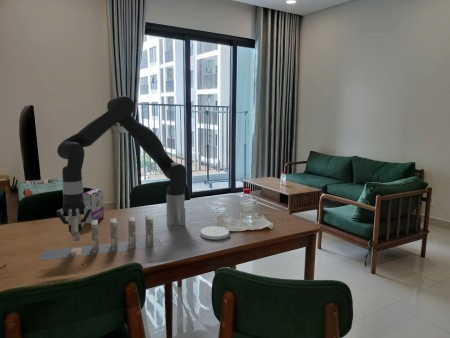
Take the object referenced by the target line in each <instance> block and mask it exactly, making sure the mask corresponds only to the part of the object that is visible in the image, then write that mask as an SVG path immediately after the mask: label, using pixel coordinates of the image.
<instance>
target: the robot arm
mask: <svg viewBox="0 0 450 338" xmlns="http://www.w3.org/2000/svg"><path fill="white" fill-rule="evenodd" d="M135 106H136V105H135V102H134V100H133V99H132V98H131V97H130V96H128V95H120V96H117V97H115V98H111V99H110V100H108V102H107V106H106V108H107V109H106V110H107V111H106V112H105V113H103V114H101V115H100V116H98V117H97V118H95V119H93V120H92V121H91V122H89V123H88V124H87V125H85V126H84V127H83V128H82V129H81V130H79V131H78V132H77V133H75V134H73V135H71V136H70V137H68V138H66V139H64V140H63V141H62V142H61V143H60V144H58V146H57V151H56V153H57V155H58V157H60V158H61V159H64V160H67V164H66V165H65V166H63V167H62V171H61V172H62V198H63V199H62V201H63V203H62V205H63V206H62V208H60V209H57V210H56V212H55V214H56V215H57V217H58V218H59V219H60V221H61V222H62V223H63V224H64V225H68V233H70V234H71V235H72V233H71V217H77V216H78V232H79V233H80V234H81V232H82V229H83V228H82V225H83V223H85V222H86V220H87V218H88V216H89V214H90V212H91V208H88V207H85V204H84V196H83V193H84V184H83V176H82V174H83V173H82V168H83V165H84V160H85V149H84V148H87V147H91V146H92V145H93V144H94V143H95V142H96V141H98V140H99V139H100V138H101V137H103V135H105V133H107V132H108V131H109V130H111V129H112V128H113V126H115V125H116V124H119V125H120V126H122V127H123V128H124V130H126V132H127V133H128V134H129V135H130V136H131V138H133V139H134V141H135V142H136V143H137V144H138V146H140V148H141V149H142V150H143V151H144V152H145V154H146V155H148V156H149V157H150V158H151V159H152V160H153V161H154V162H155V164H156V165H157V166H158V167H159V169H160V171H161V172H162V174H163V175H164V176H165V177H166V178H167V179H169V180H170V181H169V186H168V187H167V188H166V227H181V226H183V227H186V207H185V190H186V188H187V176H188V175H187V174H188V173H187V168H186V167H185V165H183V164H181V163H179V162H176V161H174V160H173V159H172V158H171V157H170V156H169V155H168V154H167V152H166V149H165V148H164V144H163V143H162V141H161V140H160V138H159V137H158V135H156V133H155V132H154V131H153V130H152V129H150V128H149V127H148V126H146V125H144V124H143V123H141V122H139V121H138V120H137V119H135V117H134V116H132V114H133V113H134V111H135V108H136V107H135ZM84 209H85V212H86V214H85V216H84V215H83V218H82V213H84ZM64 214H66V215H67V217H68V219H67V218H66V217H65V216H64Z"/></svg>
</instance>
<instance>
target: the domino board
mask: <svg viewBox="0 0 450 338" xmlns="http://www.w3.org/2000/svg"><path fill="white" fill-rule="evenodd" d="M117 244H118V250H112V249H111V242H110V243H102V244H101V243H99V252H93V250H92V245H85V246H76V247H74V246H73V247H66V248H56V249H55V248H54V249H48V250H47V249H46V250H42V252H41V255H40V258H39V262H41V261H42V262H43V261H51V260H58V259H65V258H66V259H68V258H75V257H83V256H93V255H101V254H108V253H109V254H110V253H116V252H126V251H127V252H128V251H134V250H142V249H143V250H144V249H151V248H158V247H159V248H160V247H163V246H164V245H163V244H162V242H161V239H160V238H159V237H157V238H153V246H148V245H147V243H146V239H139V240H136V248H130V246H129V240H128V241H120V242H118V241H117Z"/></svg>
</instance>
